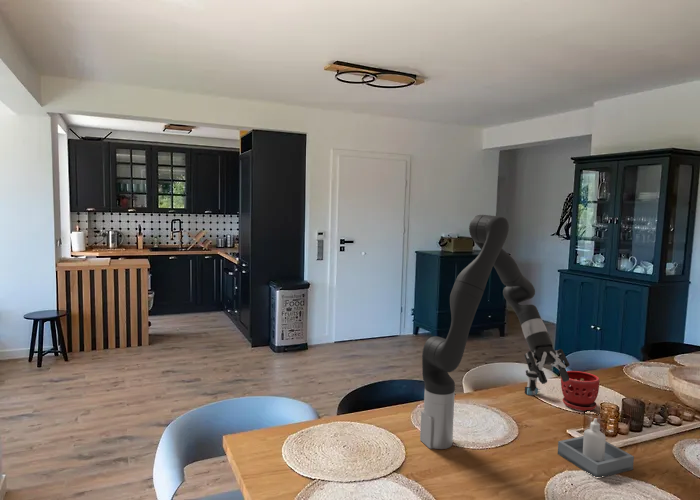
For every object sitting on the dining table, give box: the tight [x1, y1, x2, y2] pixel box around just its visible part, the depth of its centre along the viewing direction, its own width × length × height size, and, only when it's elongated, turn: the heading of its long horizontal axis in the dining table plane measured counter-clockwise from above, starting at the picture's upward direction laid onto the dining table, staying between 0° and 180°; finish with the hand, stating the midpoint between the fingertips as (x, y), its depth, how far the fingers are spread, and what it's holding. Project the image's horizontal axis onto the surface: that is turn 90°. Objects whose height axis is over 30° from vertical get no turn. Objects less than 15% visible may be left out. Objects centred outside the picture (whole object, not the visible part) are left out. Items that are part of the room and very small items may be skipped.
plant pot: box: [560, 370, 600, 412], centre depth 179 cm, size 13×13×12 cm
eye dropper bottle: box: [583, 417, 607, 462], centre depth 139 cm, size 4×6×12 cm
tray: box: [557, 435, 635, 478], centre depth 139 cm, size 14×14×4 cm
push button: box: [524, 368, 541, 396], centre depth 190 cm, size 7×5×10 cm
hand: (555, 382), depth 151 cm, fingers open, 8 cm apart
